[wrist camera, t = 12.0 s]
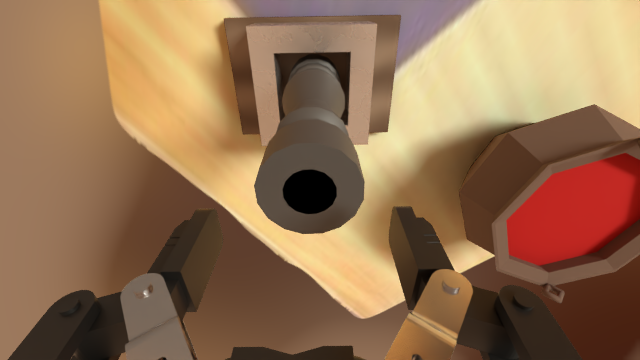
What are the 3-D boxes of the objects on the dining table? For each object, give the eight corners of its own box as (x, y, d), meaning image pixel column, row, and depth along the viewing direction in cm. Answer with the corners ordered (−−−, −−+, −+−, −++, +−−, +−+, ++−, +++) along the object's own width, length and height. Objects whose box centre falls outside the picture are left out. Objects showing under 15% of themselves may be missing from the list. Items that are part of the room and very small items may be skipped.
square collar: (255, 23, 33) (245, 26, 28) (369, 21, 33) (377, 24, 28) (267, 130, 40) (261, 146, 35) (362, 129, 40) (367, 144, 35)
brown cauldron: (461, 86, 38) (543, 135, 24) (639, 89, 38) (821, 139, 25) (423, 225, 51) (463, 309, 37) (558, 226, 51) (647, 311, 37)
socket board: (227, 18, 34) (223, 18, 32) (397, 14, 34) (401, 15, 32) (245, 130, 41) (243, 134, 40) (385, 127, 41) (387, 132, 40)
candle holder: (348, 85, 36) (391, 203, 15) (309, 113, 38) (299, 253, 17) (320, 42, 34) (323, 110, 13) (279, 74, 36) (223, 181, 14)
